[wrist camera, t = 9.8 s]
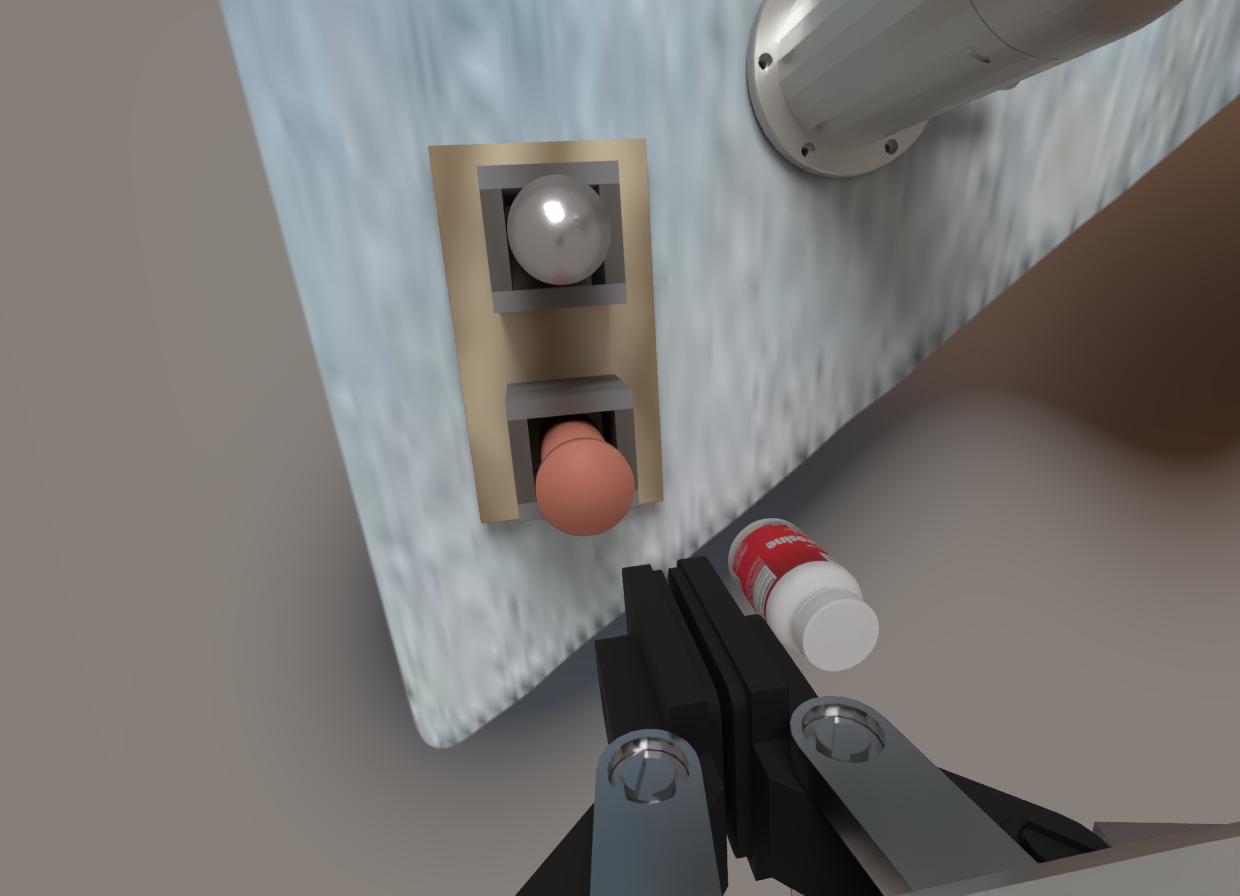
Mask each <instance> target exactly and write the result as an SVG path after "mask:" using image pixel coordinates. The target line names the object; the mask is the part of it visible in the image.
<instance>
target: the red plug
mask: <svg viewBox="0 0 1240 896" xmlns="http://www.w3.org/2000/svg"><path fill="white" fill-rule="evenodd" d="M539 446H540V454H541V465H540V467H539V469H538V472H537V476H536V497H537V502H538V505H539V508H540V510H541V512H542V514H543V515H544V517H545V518H546V519H547V520H548V521H549V523H551V524H552V525H553V526H554V527H556V528H557V529H559V530H561V531H563V532H565V533H568V534H571V535H577V536H590V535H595V534H599V533H602V532H604V531H606V530H609V529H610V528H612V527H613V526H615V525H616V524H617V523H619V521H620V520H621V519H622V518H623V517H624V516H625V515H626V513H627V512H628V510H629V508H630V506H631V504H632V501H633V498H634V492H635V482H634V477H633V473H632V470H631V468H630V466H629V464H628V463H627V461H626V459H625V458H624V456H623V455H622V454H621V453H620V452H619V451H618V450H617V449H616V448H615V447H614V446H612V445H611V444H609V443H607V442H605V440H604V438H603V436H602V434H601V433H600V431H599V429H598V427H597V426H596V424H595V423H594V421H593V420H592V419H591V418H589V417H588V416H587V415H585V414H583V413H580V414H570V415H560V416H553V417H551V418H550V419H549V420H548V421H547V422H546V423H545V424H544V426H543V428H542V430H541V432H540V437H539Z"/></svg>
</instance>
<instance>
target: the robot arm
mask: <svg viewBox="0 0 1240 896" xmlns="http://www.w3.org/2000/svg"><path fill="white" fill-rule="evenodd" d="M1181 1H1183V0H763V1H762V3H761V5H760V7H759V10H758V13H757V15H756V18H755V21H754V23H753V26H752V30H751V35H750V40H749V46H748V53H747V78H748V86H749V94H750V98H751V102H752V105H753V108H754V111H755V115H756V117H757V119H758V121H759V123H760V125H761V127H762V129H763V131H764V133H765V135H766V136H767V138H768V139H769V140H770V142H771V143H772V144H773V146H774V147H775V148H776V150H777V151H778V152H779V153H781V154H782V155H783V156H784V157H785V158H786V159H787V160H789V161H790V162H791V163H792V164H794V165H796V166H798V167H799V168H801V169H803V170H805V171H807V172H809V173H812V174H816V175H819V176H823V177H831V178H846V177H853V176H859V175H862V174H865V173H868V172H871V171H874V170H876V169H878V168H880V167H882V166H884V165H886V164H888V163H890V162H892V161H893V160H895V159H896V158H897V157H899V156H900V155H901V154H902V153H904V152H905V151H906V150H907V149H908V148H909V147H910V146H911V145H912V144H913V143H914V142H915V141H916V140H917V138H918V137H919V136H920V135H921V134H922V132H923V131H924V129H925V127H926V126H927V124H928V123H929V121H930V120H931V118H933V117H936V116H938V115H940V114H943V113H945V112H947V111H950V110H952V109H955V108H957V107H959V106H962V105H964V104H967V103H969V102H971V101H974V100H976V99H979V98H981V97H983V96H986V95H988V94H990V93H993V92H995V91H998V90H1009V89H1012V88H1014V87H1015V86H1016V85H1017V84H1018V83H1019V82H1020V81H1022V80H1024V79H1026V78H1029V77H1031V76H1033V75H1036V74H1038V73H1041V72H1043V71H1045V70H1048V69H1050V68H1053V67H1055V66H1057V65H1060V64H1062V63H1065V62H1067V61H1069V60H1072V59H1074V58H1076V57H1079V56H1081V55H1083V54H1086V53H1088V52H1091V51H1093V50H1095V49H1098V48H1100V47H1103V46H1105V45H1107V44H1110V43H1112V42H1114V41H1117V40H1119V39H1121V38H1123V37H1126V36H1128V35H1130V34H1132V33H1134V32H1136V31H1138V30H1140V29H1141V28H1143V27H1145V26H1147V25H1148V24H1150V23H1152V22H1153V21H1155V20H1156V19H1158V18H1159V17H1161V16H1162V15H1164V14H1166V13H1167V12H1168V11H1170V10H1171V9H1173V8H1174V7H1175V6H1177V5H1178V4H1179V3H1180V2H1181ZM759 63H761V64H762V65H763V69H761V68H760V67H759ZM885 148H886V151H885ZM802 149H803V150H804V151H805V156H803V155H802V151H801V150H802ZM622 578H623V589H624V599H625V610H626V621H627V632H628V635H625V636H619V637H613V638H607V639H601V640H595V652H596V661H597V669H598V678H599V686H600V693H601V701H602V708H603V715H604V721H605V727H606V733H607V739H608V746H607V747H606V749H605V750H604V752H603V753H602V755H601V756H600V758H599V761H598V765H597V769H596V781H595V782H596V783H595V802H594V804H593V805H592V806H591V807H590V808H589V809H588V810H587V812H586V813H585V814H584V815H583V816H582V817H581V819H580V820H579V821H578V822H577V824H576V825H575V826H574V827H573V828H572V830H571V831H570V832H569V833H568V834H567V835H566V836H565V838H564V839H563V840H562V841H561V842H560V843H559V845H558V846H557V847H556V848H555V849H554V850H553V852H552V853H551V854H550V855H549V856H548V858H547V859H546V860H545V861H544V862H543V863H542V865H541V866H540V867H539V868H538V869H537V871H536V872H535V873H534V874H533V875H532V876H531V878H530V879H529V880H528V881H527V882H526V883H525V885H524V886H523V887H522V888H521V889H520V891H519V892H518V893H517V894H516V895H515V896H723V895H724V893H725V891H726V889H727V887H728V868H727V837H726V834H727V836H728V839H729V842H730V844H731V848H732V850H733V853H734V855H735V857H736V858H743V857H747V859H748V861H749V864H750V867H751V869H752V872H753V875H754V877H755V880H756V881H758V880H763V879H767V878H774V879H776V880H778V881H779V882H781V883H783V884H784V885H786V886H788V887H790V888H791V896H1240V822H1235V823H1230V824H1180V823H1178V824H1177V823H1128V822H1094V827H1093V832H1092V831H1090V830H1089V829H1087V828H1086V827H1084V826H1083V825H1081V824H1080V823H1078V822H1076V821H1074V820H1071V819H1069V818H1067V817H1065V816H1063V815H1061V814H1059V813H1057V812H1054V811H1051V810H1048V809H1046V808H1043V807H1041V806H1038V805H1036V804H1033V803H1030V802H1028V801H1025V800H1022V799H1020V798H1017V797H1015V796H1012V795H1009V794H1007V793H1004V792H1001V791H999V790H996V789H993V788H991V787H988V786H986V785H983V784H980V783H978V782H975V781H973V780H970V779H967V778H965V777H962V776H960V775H957V774H954V773H952V772H949V771H946V770H944V769H941V768H939V767H936V766H935V765H934V764H933V763H932V762H931V761H930V760H929V759H928V758H927V757H926V756H925V755H924V754H923V753H922V752H921V751H920V750H919V749H917V748H916V747H915V746H914V745H913V744H912V743H911V742H910V741H909V740H908V739H907V738H906V737H905V736H904V735H903V734H902V733H901V732H900V731H899V730H898V729H897V728H895V727H894V726H893V725H892V724H891V723H890V722H889V721H888V720H887V719H886V718H885V717H883V716H882V715H881V714H880V713H878V712H877V711H876V710H874V709H873V708H871V707H869V706H867V705H865V704H863V703H861V702H859V701H856V700H852V699H848V698H844V697H835V696H824V697H818V696H817V695H816V693H815V692H814V690H813V689H812V687H811V686H810V684H809V683H808V681H807V680H806V679H805V677H804V676H803V674H802V673H801V671H800V670H799V668H798V667H797V666H796V664H795V663H794V662H793V660H792V658H791V657H790V655H789V654H788V653H787V651H786V650H785V648H784V647H783V645H782V644H781V642H780V641H779V640H778V638H777V637H776V635H775V634H774V632H773V631H772V630H771V628H770V627H769V625H768V624H767V622H766V621H765V619H764V618H763V617H762V616H761V615H759V614H755V615H748V616H744V615H743V613H742V612H741V610H740V609H739V607H738V606H737V604H736V602H735V601H734V599H733V598H732V596H731V594H730V593H729V592H728V590H727V588H726V587H725V585H724V584H723V582H722V580H721V579H720V577H719V576H718V574H717V573H716V571H715V570H714V568H713V566H712V565H711V563H710V562H709V560H708V559H707V557H706V556H701V557H694V558H687V559H680V560H678V561H677V567H675V568H669V570H668V579H669V585H668V583H667V581H666V578H665V576H664V574H663V572H662V570H655V571H653V570H652V568H651V566H650V564H646V565H640V566H633V567H626V568H622Z"/></svg>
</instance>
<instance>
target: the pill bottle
mask: <svg viewBox="0 0 1240 896" xmlns="http://www.w3.org/2000/svg"><path fill="white" fill-rule="evenodd" d="M728 564H729V570H730V574H731V576H732V578H733V580H734V581H735V583H736V584H737V586H738V587H739V588H740V590H741V591H742V592H743V594H744V595H745V596H746V598H747V599H748V601H749V602H750V604H751V605H752V606H753V608H754V609H755V611H756V612H757V613H758V614H759V615H761V616H762V617H763V618H764V619H765V621H766V622H767V624H768V625H769V627H770V628H771V630H772V631H773V632H774V634H775V635H776V637H777V638H778V640H779V641H780V642H781V644H782V645H784V646H785V647H787V648H789V649H791V650H793V651H796V652H800V653H802V654H803V655H804V656H805V657H806V658H807V659H808V661H809V662H810V663H811V664H812V665H814V666H815V667H817V668H819V669H821V670H824V671H830V672H836V671H842V670H846V669H849V668H851V667H854V666H856V665H857V664H859V663H860V662H861V661H863V660H864V659H865V658H866V657H867V656H868V655H869V654H870V652H871V651H872V650H873V648H874V646H875V644H876V642H877V639H878V634H879V624H878V620H877V617H876V615H875V613H874V612H873V610H872V609H871V608H870V607H869V606H868V605H867V604H866V603H865V602H864V601H863V597H862V593H861V589H860V587H859V585H858V583H857V582H856V580H855V578H854V577H853V576H852V575H851V574H850V573H849V572H848V571H847V570H846V569H845V568H844V567H842V566H841V565H840V564H839V563H838V562H837V561H836V560H835V559H833V558H832V557H831V556H830V555H829V554H828V553H827V552H825V551H824V550H823V549H822V548H821V547H820V546H818V545H817V544H816V543H815V542H814V541H813V540H811V539H810V538H809V537H808V536H807V535H806V534H805V533H803V532H802V531H801V530H800V529H798V528H797V527H796V526H795V525H793V524H792V523H790V522H788V521H785V520H781V519H775V518H769V519H762V520H759V521H756V522H753V523H752V524H750V525H748V526H747V527H746V528H744V529H743V530H742V531H741V532H740V533H739V534H738V535H737V537H736V538H735V540H734V541H733V543H732V545H731V548H730V551H729V556H728Z"/></svg>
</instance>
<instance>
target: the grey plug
mask: <svg viewBox="0 0 1240 896" xmlns="http://www.w3.org/2000/svg"><path fill="white" fill-rule="evenodd" d="M507 234H508V239H509V244H510V247H511V250H512V252H513V254H514V256H515V258H516V260H517V261H518V263H519V264H520V265H521V267H522V268H523V269H524V270H525V271H526V272H527V273H529V274H530V275H531V276H533V277H534V278H536V279H538V280H540V281H542V282H545V283H549V284H554V285H566V284H572V283H576V282H579V281H581V280H583V279H585V278H587V277H588V276H590V275H591V274H592V273H594V272H595V271H596V270H597V269H598V268H599V266H600V265H601V264H602V262H603V261H604V259H605V257H606V255H607V252H608V250H609V246H610V242H611V222H610V218H609V214H608V211H607V209H606V206H605V204H604V203H603V201H602V199H601V198H600V197H599V195H598V194H597V193H596V192H595V191H594V190H593V189H592V188H591V187H590V186H589V185H587V184H586V183H584V182H583V181H581V180H579V179H577V178H574V177H571V176H567V175H556V174H555V175H547V176H543V177H540V178H538V179H536V180H534V181H532V182H530V183H529V184H528V185H526V186H525V187H524V188H523V189H522V190H521V191H520V192H519V194H518V195H517V196H516V198H515V199H514V201H513V203H512V205H511V208H510V211H509V215H508V222H507Z"/></svg>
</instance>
